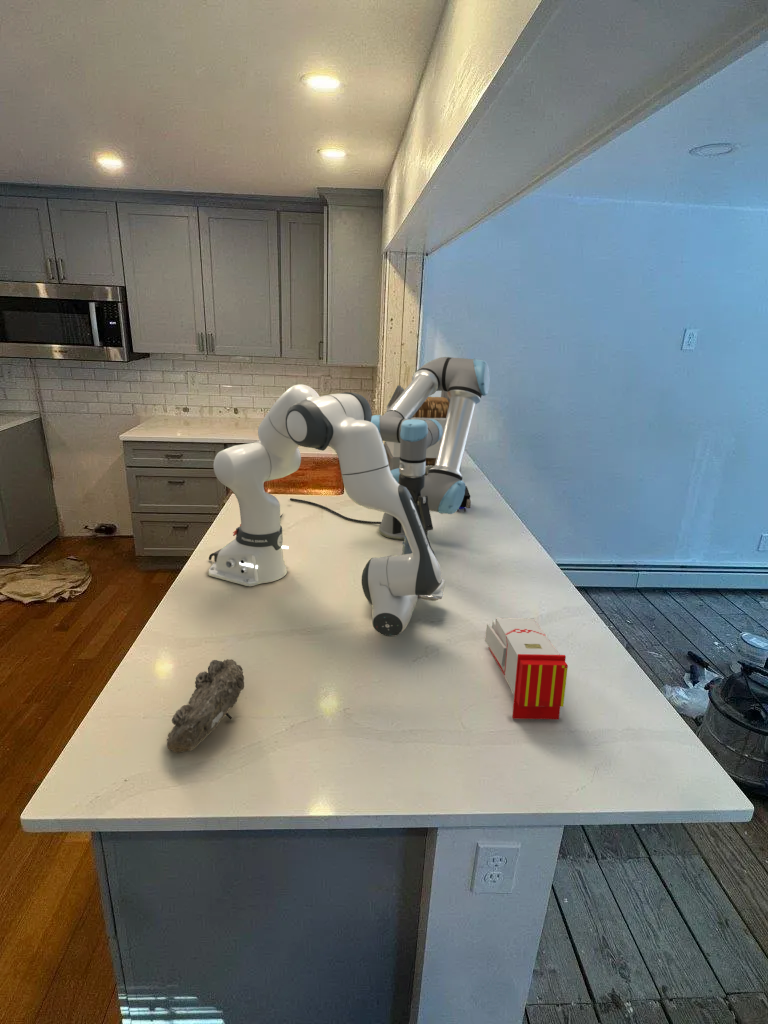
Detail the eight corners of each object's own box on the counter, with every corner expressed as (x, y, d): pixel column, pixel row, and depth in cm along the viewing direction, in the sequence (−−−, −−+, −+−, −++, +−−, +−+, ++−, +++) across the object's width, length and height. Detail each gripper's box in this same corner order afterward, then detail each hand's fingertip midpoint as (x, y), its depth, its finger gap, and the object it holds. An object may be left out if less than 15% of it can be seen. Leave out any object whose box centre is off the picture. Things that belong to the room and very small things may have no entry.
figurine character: (470, 516, 223) (465, 500, 237) (473, 499, 220) (467, 484, 233) (453, 516, 223) (449, 500, 236) (455, 498, 220) (451, 483, 233)
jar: (409, 600, 155) (413, 542, 149) (396, 593, 158) (399, 536, 152) (421, 594, 158) (426, 537, 152) (408, 588, 161) (412, 532, 156)
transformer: (382, 463, 289) (386, 382, 275) (445, 464, 293) (451, 384, 279) (390, 482, 257) (394, 392, 243) (460, 483, 261) (468, 394, 247)
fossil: (192, 660, 117) (244, 628, 112) (224, 691, 120) (276, 661, 115) (142, 746, 98) (202, 712, 93) (182, 779, 101) (242, 748, 96)
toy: (531, 603, 136) (576, 661, 106) (526, 655, 139) (569, 725, 109) (481, 602, 135) (512, 660, 106) (477, 654, 138) (507, 724, 109)
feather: (290, 508, 223) (292, 504, 223) (272, 532, 197) (275, 527, 196) (286, 505, 223) (289, 501, 223) (268, 529, 197) (271, 525, 196)
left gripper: (442, 588, 141) (449, 566, 153) (363, 577, 145) (375, 556, 157) (440, 611, 143) (447, 586, 156) (362, 599, 147) (375, 576, 160)
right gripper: (378, 464, 172) (377, 528, 179) (426, 488, 152) (421, 559, 160) (399, 461, 175) (397, 524, 183) (448, 484, 156) (443, 554, 163)
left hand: (410, 571), depth 157 cm, fingers closed on jar, 5 cm apart
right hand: (408, 541), depth 171 cm, fingers open, 13 cm apart
